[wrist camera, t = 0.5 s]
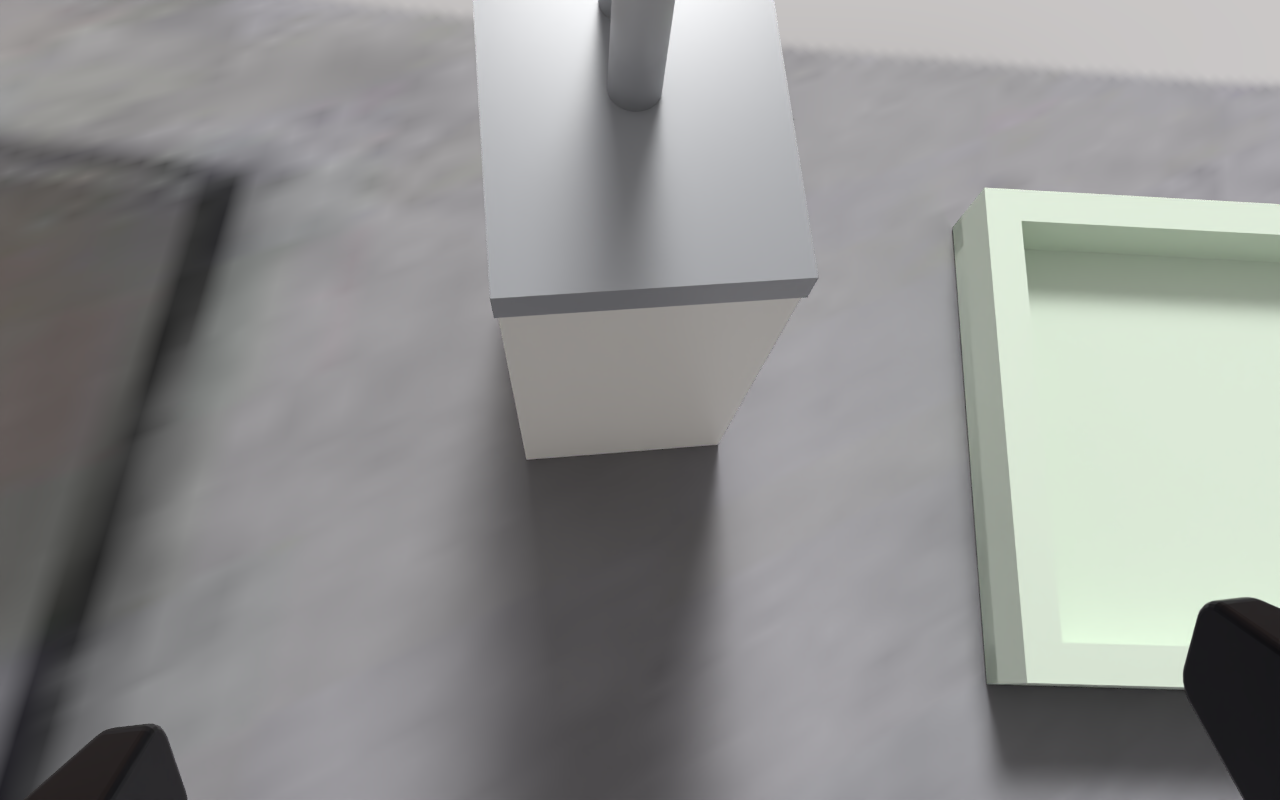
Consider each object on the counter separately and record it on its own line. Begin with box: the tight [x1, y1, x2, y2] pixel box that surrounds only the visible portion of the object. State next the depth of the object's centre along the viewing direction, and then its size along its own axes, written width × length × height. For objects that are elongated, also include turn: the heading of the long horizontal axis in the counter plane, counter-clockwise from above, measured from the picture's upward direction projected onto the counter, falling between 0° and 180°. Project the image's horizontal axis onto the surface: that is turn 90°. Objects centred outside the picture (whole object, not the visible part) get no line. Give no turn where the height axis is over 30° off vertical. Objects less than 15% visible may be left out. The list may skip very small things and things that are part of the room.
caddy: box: [473, 0, 819, 460], centre depth 17 cm, size 5×4×13 cm
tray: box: [953, 188, 1280, 690], centre depth 22 cm, size 13×11×2 cm
